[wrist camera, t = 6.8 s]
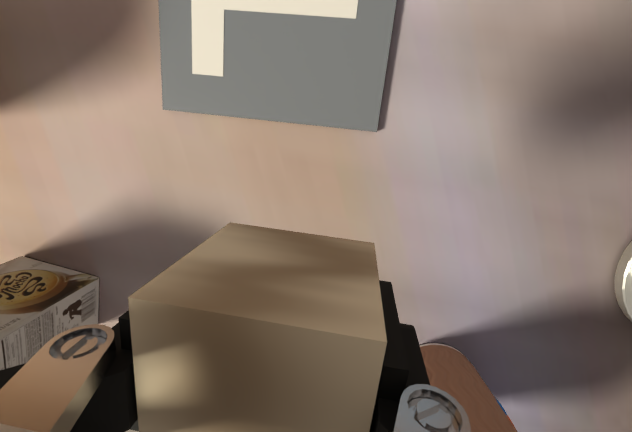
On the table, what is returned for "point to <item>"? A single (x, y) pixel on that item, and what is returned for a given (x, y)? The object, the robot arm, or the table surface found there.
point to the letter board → (277, 59)
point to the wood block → (260, 335)
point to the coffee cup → (465, 387)
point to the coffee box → (41, 306)
